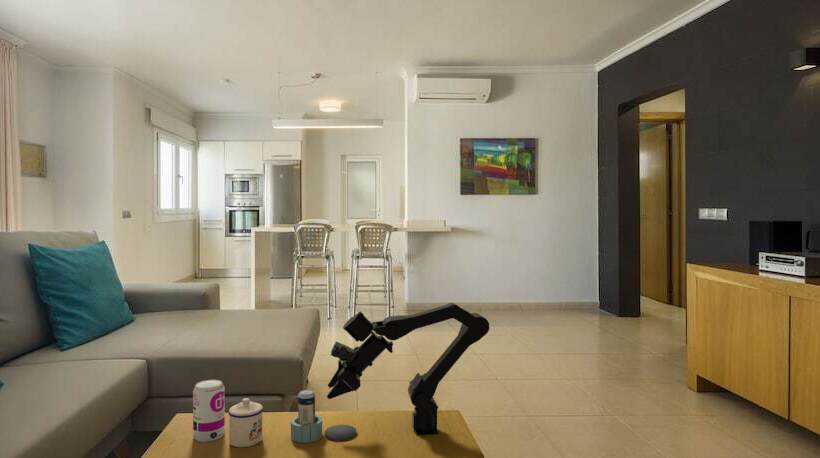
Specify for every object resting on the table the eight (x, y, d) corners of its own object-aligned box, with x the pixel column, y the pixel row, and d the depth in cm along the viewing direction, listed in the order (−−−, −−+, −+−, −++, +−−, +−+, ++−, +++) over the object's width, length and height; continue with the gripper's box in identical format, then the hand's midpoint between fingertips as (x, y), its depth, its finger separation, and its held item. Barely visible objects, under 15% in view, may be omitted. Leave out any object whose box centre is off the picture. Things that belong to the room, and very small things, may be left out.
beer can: (318, 434, 144) (318, 391, 143) (304, 439, 140) (304, 396, 140) (308, 429, 147) (308, 387, 147) (294, 434, 143) (294, 392, 143)
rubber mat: (355, 426, 150) (355, 423, 150) (357, 439, 141) (357, 436, 141) (324, 428, 149) (324, 425, 149) (324, 442, 140) (324, 439, 140)
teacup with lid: (254, 449, 135) (254, 406, 135) (222, 447, 136) (222, 404, 136) (272, 430, 147) (272, 390, 147) (242, 428, 148) (242, 389, 148)
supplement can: (231, 433, 145) (230, 381, 144) (208, 445, 137) (208, 390, 137) (209, 428, 148) (209, 377, 148) (186, 439, 141) (186, 386, 140)
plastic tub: (322, 428, 148) (322, 413, 148) (322, 441, 140) (322, 425, 140) (292, 430, 147) (292, 415, 147) (290, 444, 138) (290, 427, 138)
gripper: (347, 325, 154) (310, 363, 152) (348, 341, 135) (305, 383, 134) (373, 351, 155) (336, 388, 154) (377, 369, 136) (335, 412, 135)
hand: (328, 392), depth 144 cm, fingers open, 9 cm apart
